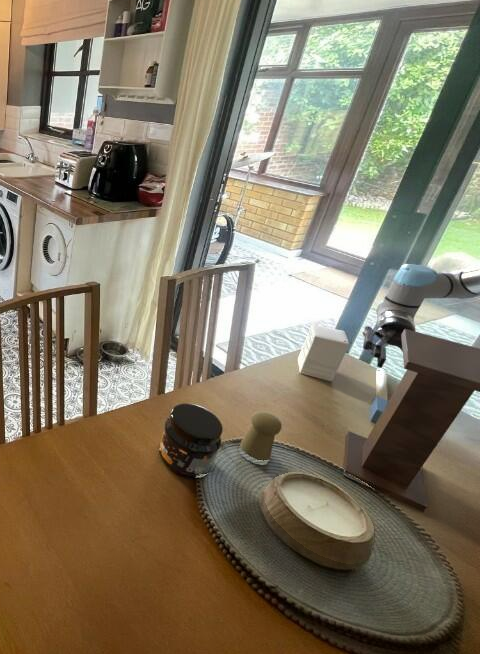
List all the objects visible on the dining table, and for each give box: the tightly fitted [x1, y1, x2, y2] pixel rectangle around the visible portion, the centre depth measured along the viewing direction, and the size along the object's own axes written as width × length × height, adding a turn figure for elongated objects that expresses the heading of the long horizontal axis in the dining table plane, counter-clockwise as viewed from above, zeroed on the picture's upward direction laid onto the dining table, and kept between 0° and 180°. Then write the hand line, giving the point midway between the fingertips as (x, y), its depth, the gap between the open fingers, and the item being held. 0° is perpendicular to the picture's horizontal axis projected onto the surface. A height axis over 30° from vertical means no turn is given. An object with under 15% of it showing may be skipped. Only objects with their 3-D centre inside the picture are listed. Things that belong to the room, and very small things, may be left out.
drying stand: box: [342, 329, 480, 513], centre depth 80 cm, size 12×14×30 cm
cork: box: [239, 410, 282, 461], centre depth 88 cm, size 6×6×11 cm
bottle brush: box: [369, 368, 389, 424], centre depth 105 cm, size 4×25×4 cm, turn 138°
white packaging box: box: [297, 323, 350, 383], centre depth 113 cm, size 7×7×13 cm
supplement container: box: [158, 403, 224, 480], centre depth 87 cm, size 10×10×12 cm
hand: (398, 368), depth 101 cm, fingers open, 5 cm apart
